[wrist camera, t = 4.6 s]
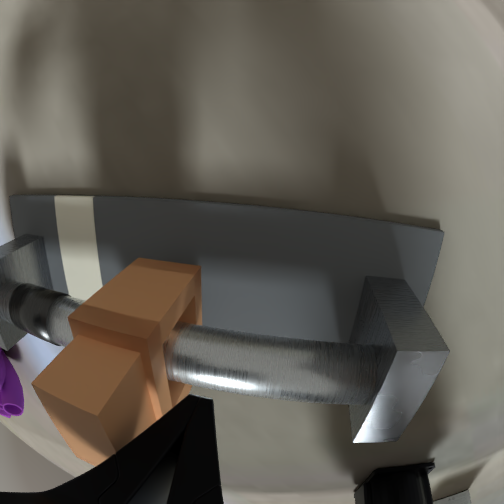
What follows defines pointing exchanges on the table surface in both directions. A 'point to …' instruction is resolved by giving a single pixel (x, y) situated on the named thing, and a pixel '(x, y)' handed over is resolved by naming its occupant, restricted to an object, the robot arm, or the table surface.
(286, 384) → the linear slide rail
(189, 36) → the table surface
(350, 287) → the grey base plate
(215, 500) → the robot arm
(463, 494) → the skincare box
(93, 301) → the collar
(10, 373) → the purple tube cluster
